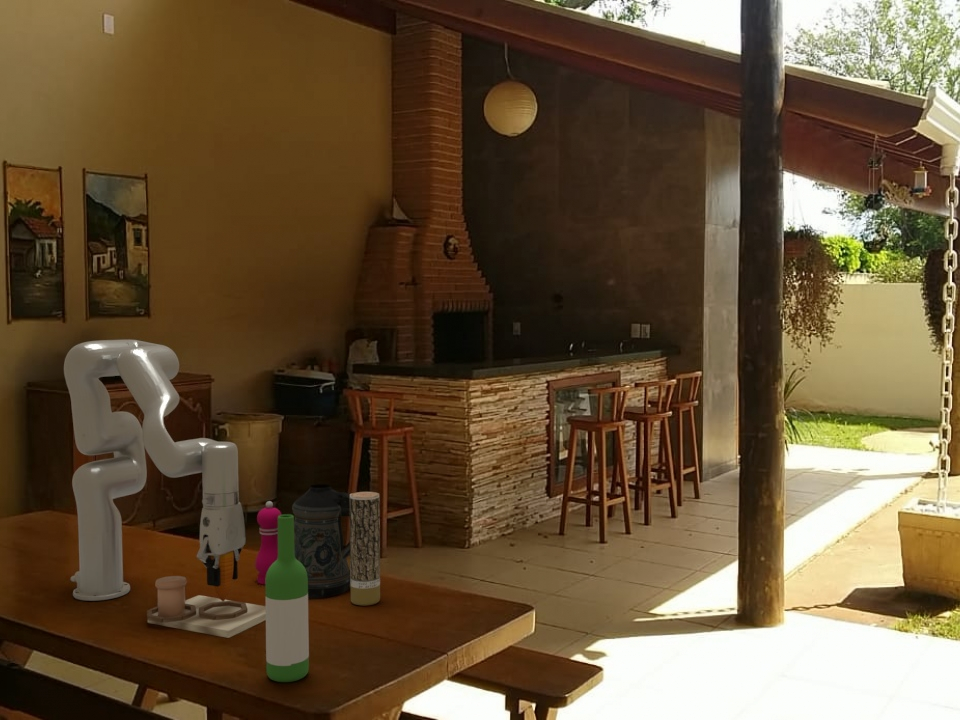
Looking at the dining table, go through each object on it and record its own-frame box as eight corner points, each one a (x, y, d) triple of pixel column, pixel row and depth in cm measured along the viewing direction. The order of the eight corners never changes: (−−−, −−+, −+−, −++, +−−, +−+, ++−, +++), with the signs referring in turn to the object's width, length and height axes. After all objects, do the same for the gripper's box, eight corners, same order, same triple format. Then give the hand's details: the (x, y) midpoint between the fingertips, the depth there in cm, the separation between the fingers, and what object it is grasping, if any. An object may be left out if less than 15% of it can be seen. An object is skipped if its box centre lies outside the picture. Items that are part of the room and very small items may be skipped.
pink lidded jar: (149, 616, 205) (148, 582, 205) (170, 607, 211) (170, 574, 210) (172, 620, 202) (171, 586, 202) (193, 611, 208) (192, 578, 208)
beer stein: (276, 583, 234) (274, 482, 233) (353, 574, 242) (352, 476, 240) (290, 602, 219) (289, 495, 218) (372, 592, 227) (371, 488, 225)
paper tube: (385, 599, 221) (385, 493, 220) (370, 608, 215) (369, 498, 214) (360, 595, 224) (359, 490, 223) (344, 604, 218) (343, 496, 216)
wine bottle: (316, 677, 176) (314, 516, 174) (276, 687, 171) (274, 522, 169) (298, 664, 182) (296, 509, 180) (259, 673, 178) (257, 514, 176)
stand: (137, 624, 204) (136, 614, 204) (195, 600, 220) (195, 591, 220) (222, 641, 194) (221, 630, 194) (276, 614, 211) (276, 604, 211)
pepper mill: (288, 577, 239) (287, 498, 238) (280, 585, 232) (279, 504, 231) (260, 576, 240) (259, 497, 239) (251, 585, 233) (250, 504, 232)
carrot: (214, 605, 205) (212, 536, 204) (209, 599, 209) (207, 532, 208) (237, 602, 207) (235, 534, 206) (232, 596, 211) (230, 529, 210)
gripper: (207, 508, 197) (209, 595, 198) (259, 493, 213) (261, 573, 214) (179, 505, 201) (181, 590, 202) (233, 490, 216) (234, 570, 217)
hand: (222, 581), depth 208 cm, fingers closed on carrot, 4 cm apart
